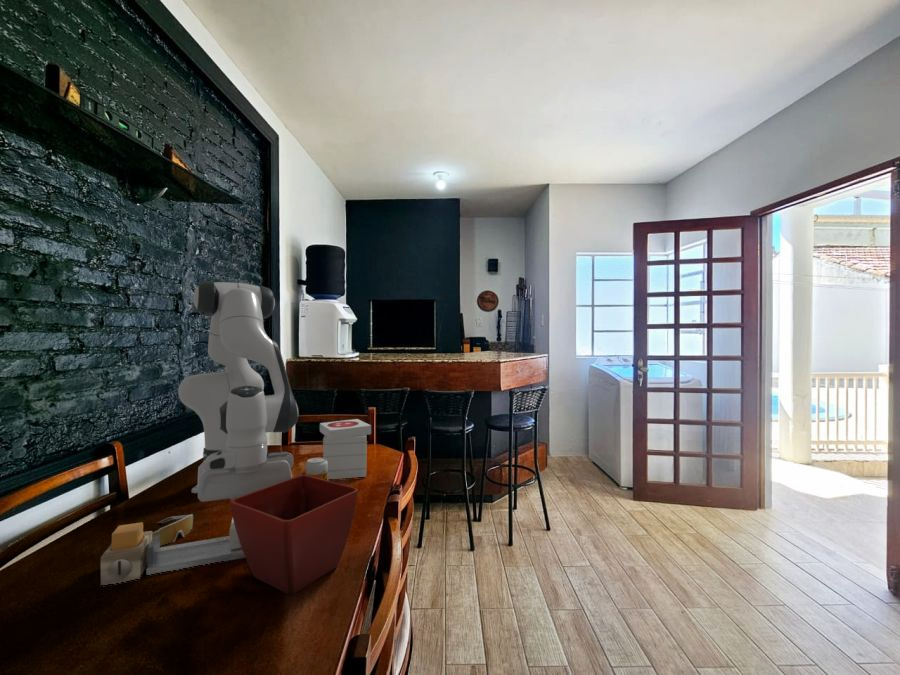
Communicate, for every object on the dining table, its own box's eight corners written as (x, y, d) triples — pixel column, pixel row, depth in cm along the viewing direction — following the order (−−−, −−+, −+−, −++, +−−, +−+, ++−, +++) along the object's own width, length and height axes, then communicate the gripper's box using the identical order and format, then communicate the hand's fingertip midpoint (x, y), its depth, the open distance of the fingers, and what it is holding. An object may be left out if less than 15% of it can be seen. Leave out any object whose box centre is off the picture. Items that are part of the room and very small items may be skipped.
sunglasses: (153, 554, 98) (151, 533, 98) (108, 554, 103) (106, 534, 103) (205, 528, 112) (203, 509, 112) (163, 529, 116) (161, 511, 116)
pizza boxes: (371, 455, 179) (370, 413, 179) (371, 479, 149) (371, 428, 149) (324, 458, 175) (324, 415, 175) (315, 483, 146) (315, 431, 146)
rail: (156, 557, 97) (156, 533, 97) (274, 537, 106) (273, 515, 106) (146, 576, 89) (146, 550, 89) (274, 552, 99) (273, 528, 99)
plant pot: (286, 612, 77) (286, 520, 77) (227, 580, 87) (227, 500, 87) (360, 564, 93) (360, 488, 93) (303, 542, 104) (303, 474, 104)
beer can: (321, 516, 118) (321, 463, 118) (301, 515, 119) (301, 462, 119) (331, 508, 124) (331, 457, 124) (313, 506, 125) (312, 456, 125)
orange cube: (119, 541, 92) (118, 525, 92) (143, 537, 94) (143, 522, 94) (111, 550, 88) (111, 534, 88) (137, 546, 90) (137, 530, 90)
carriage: (232, 537, 102) (232, 501, 102) (264, 532, 105) (263, 496, 105) (229, 551, 96) (229, 512, 96) (263, 545, 98) (263, 507, 98)
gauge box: (117, 562, 95) (117, 536, 95) (152, 556, 97) (152, 530, 97) (99, 588, 85) (99, 558, 85) (138, 581, 87) (138, 552, 87)
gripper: (292, 447, 107) (293, 501, 107) (200, 456, 99) (201, 515, 99) (294, 453, 101) (294, 510, 101) (196, 464, 93) (196, 526, 94)
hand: (247, 513), depth 100 cm, fingers closed on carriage, 2 cm apart
